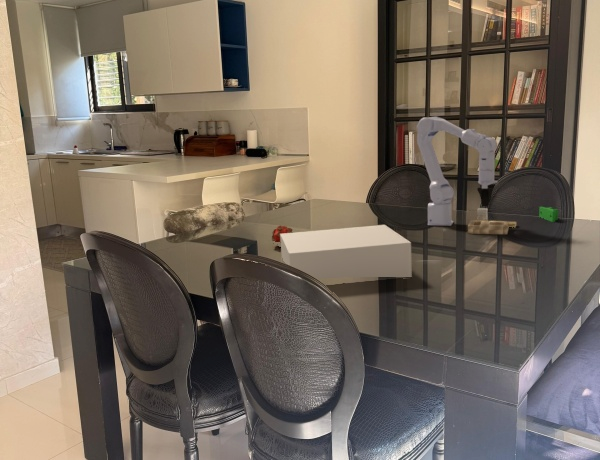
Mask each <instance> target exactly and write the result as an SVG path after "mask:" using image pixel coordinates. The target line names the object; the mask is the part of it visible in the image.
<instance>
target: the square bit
mask: <svg viewBox="0 0 600 460" xmlns="http://www.w3.org/2000/svg"><path fill="white" fill-rule="evenodd" d="M476 221H488V207H486V208H485V207H478V208H477V209H476Z"/></svg>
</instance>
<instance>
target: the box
mask: <svg viewBox="0 0 600 460" xmlns="http://www.w3.org/2000/svg"><path fill="white" fill-rule="evenodd" d="M280 240H281V248H280V253H281V255H280V256H281V259H282V258H283V261H284V262H285V263H286V264H288V265H290V266H292V267H295V268H298V269H300V270H302V271H304V272H306V273H308V274H310V275H312V276H314V277H315V278H319V279H320V278H321V279H322V278H341V277H412V278H413V275H412V242H411V241H409V240H408V239H406V237H404V236H402V235H400V234H399V233H398V232H396V231H395V230H393V229H392V228H390V227H389V226H387V225H386V224H378V225H367V226H356V227H354V226H353V227H344V228H333V229H331V228H330V229H320V230H309V231H308V230H307V231H299V232H298V231H297V232H293V233H284V234H280Z"/></svg>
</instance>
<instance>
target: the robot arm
mask: <svg viewBox="0 0 600 460" xmlns="http://www.w3.org/2000/svg"><path fill="white" fill-rule="evenodd" d="M416 130H417V134H416V135H417V136H416V144H417V147H418V149H419V152H420V155H421V158H422V161H423V164H424V166H425V168H426V172H427V174H428V177H429V181H430V185H429V193H430V194H429V195H430V200H431V201H432V202H429V203H428V204H427V226H452V225H453V223H454V220H452V199H453V198H454V196H455V191H454V188H453V187H452V186H451V185H450V182H449V181H448V179H446V178H445V177H444V174H443V171H442V168H441V166H440V162H439V160H438V158H437V157H438V156H437V154H436V152H435V149H434V146H433V143H432V141H433V139H434V138H435V136H436V135H437V134H438V133H439V132H440V131H444V132H446V133H448V134H451V135H452V136H455V137H458V138H460V141H461V143H463V144H465V145H467V146H469V147H471V148H473V149H476V151H477V153H478V181H477V183H478V185H479V187H477V189H476V190H477V191H478V193H479V198H480V202H481V206H482V207H488V206H489V204H490V203H491V200H492V194H493V191H494V189H495V186H496V184H497V183H498V180H495V165H496V164H495V162H496V161H495V159H496V158H495V157H496V155H495V151H496V150H497V148H498V142H497V140H496V139H495V138H493V137H492V136H488V137H487V135H486V134H482V133H479V132H477V131H476V129H475V128H471V129H470V128H467V129H466V130H465V129H463V128H461V127H459V126H457V125H455V124H453V123H452V122H450V121H448V120H446V119H445V118H442V117H439V116H431V117H429V116H427V117H422V118H420V119H419V121H418V123H417V125H416Z"/></svg>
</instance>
